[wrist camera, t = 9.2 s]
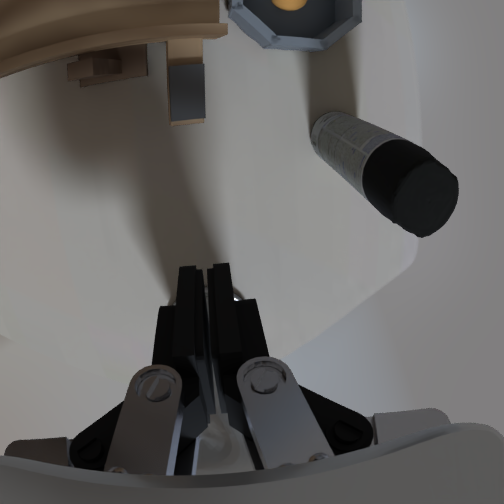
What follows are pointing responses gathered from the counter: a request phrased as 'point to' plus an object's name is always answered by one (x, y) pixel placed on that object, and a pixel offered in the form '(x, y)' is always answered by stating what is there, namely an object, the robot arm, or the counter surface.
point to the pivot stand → (109, 65)
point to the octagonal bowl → (296, 23)
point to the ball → (289, 4)
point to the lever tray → (115, 38)
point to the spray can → (388, 172)
